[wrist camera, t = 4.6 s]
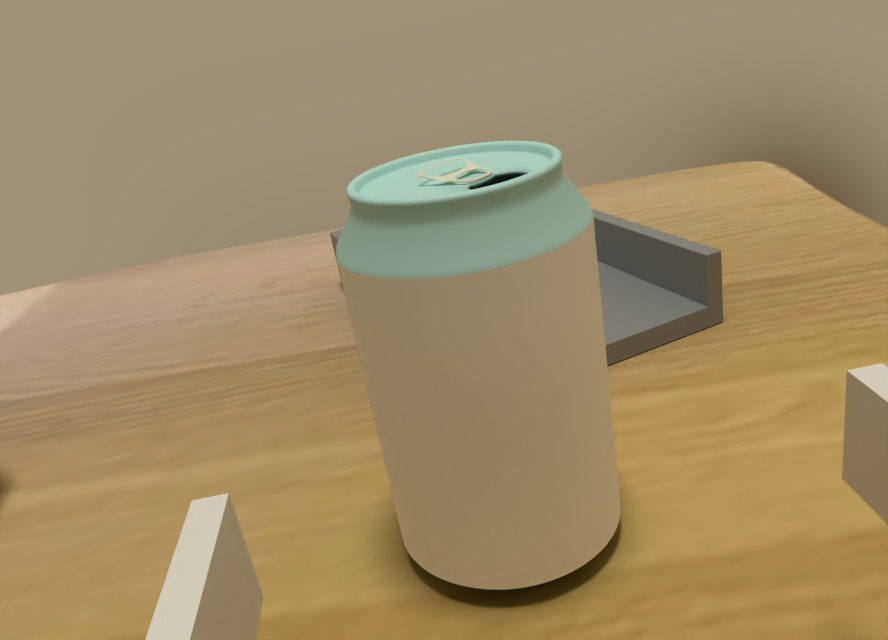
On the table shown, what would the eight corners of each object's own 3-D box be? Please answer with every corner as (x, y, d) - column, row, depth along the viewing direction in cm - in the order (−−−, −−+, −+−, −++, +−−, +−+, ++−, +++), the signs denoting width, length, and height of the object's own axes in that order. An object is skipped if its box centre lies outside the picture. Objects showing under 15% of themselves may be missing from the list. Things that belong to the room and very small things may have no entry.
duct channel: (481, 413, 32) (468, 337, 31) (342, 285, 49) (330, 232, 48) (723, 321, 36) (720, 250, 35) (515, 232, 53) (508, 182, 52)
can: (612, 457, 28) (580, 121, 23) (633, 603, 22) (594, 180, 17) (421, 471, 29) (354, 154, 24) (387, 613, 23) (287, 222, 18)
